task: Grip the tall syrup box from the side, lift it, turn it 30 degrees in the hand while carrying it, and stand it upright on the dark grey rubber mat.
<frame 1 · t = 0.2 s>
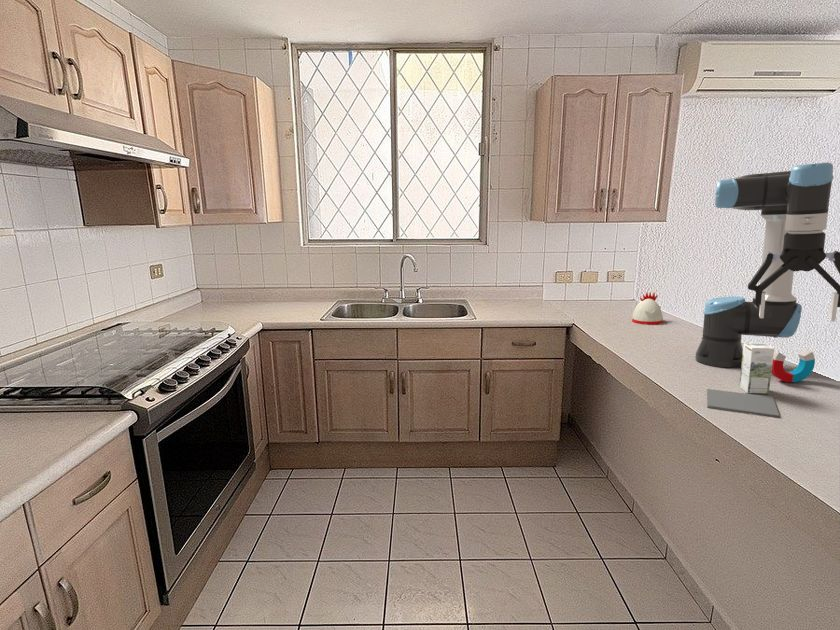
hand: (795, 318, 113), 27 cm above the worktop, tool pointing down, fingers open, 13 cm apart
magnet: (789, 382, 143), on the worktop
rubber mat: (740, 403, 130), on the worktop
cream beanie hat: (647, 322, 228), on the worktop
syrup box: (753, 391, 137), on the worktop
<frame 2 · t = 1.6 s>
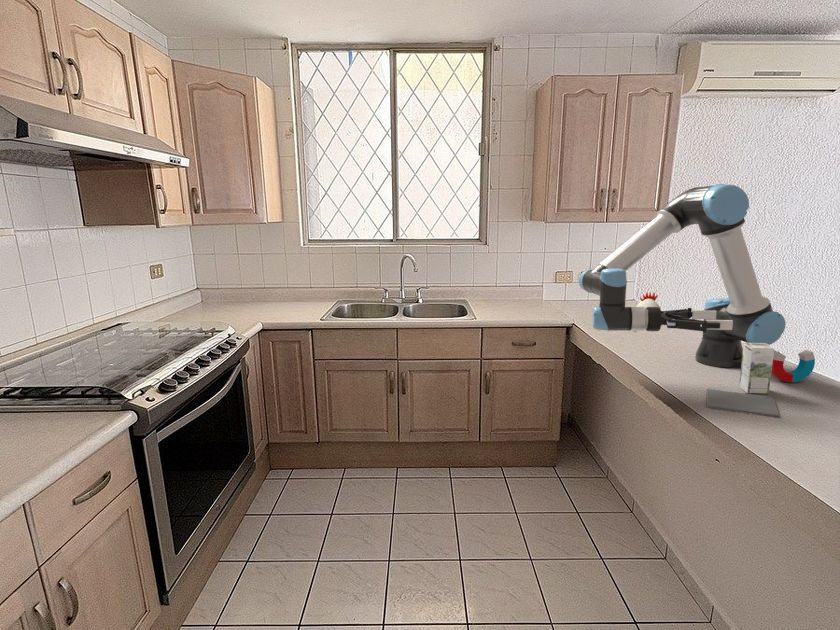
hand: (723, 319, 136), 22 cm above the worktop, tool horizontal, fingers open, 13 cm apart
nothing on the worktop moved.
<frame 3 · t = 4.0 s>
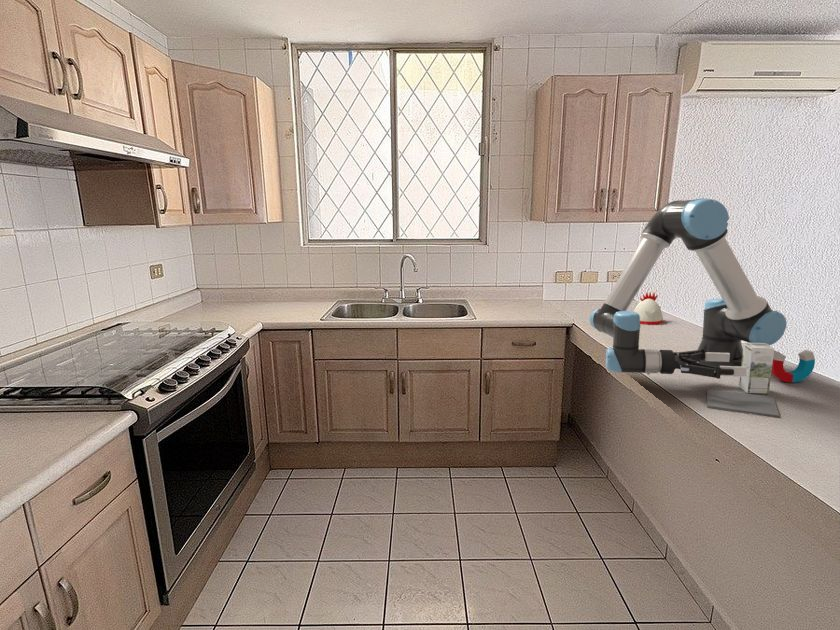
hand: (737, 364, 137), 8 cm above the worktop, tool horizontal, fingers open, 13 cm apart
nothing on the worktop moved.
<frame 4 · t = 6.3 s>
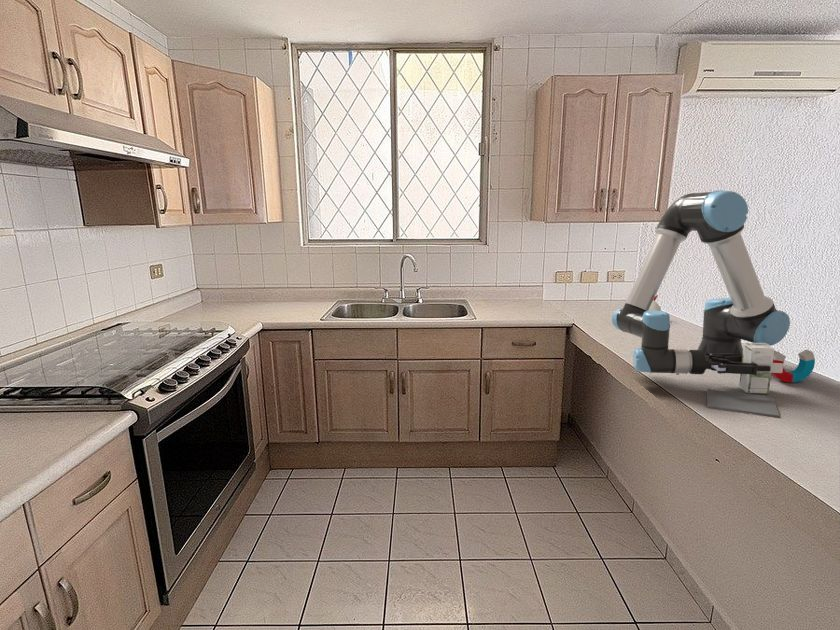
hand: (776, 364, 134), 9 cm above the worktop, tool horizontal, fingers closed on syrup box, 6 cm apart
syrup box: (753, 391, 137), on the worktop, touching gripper
everything else where it was.
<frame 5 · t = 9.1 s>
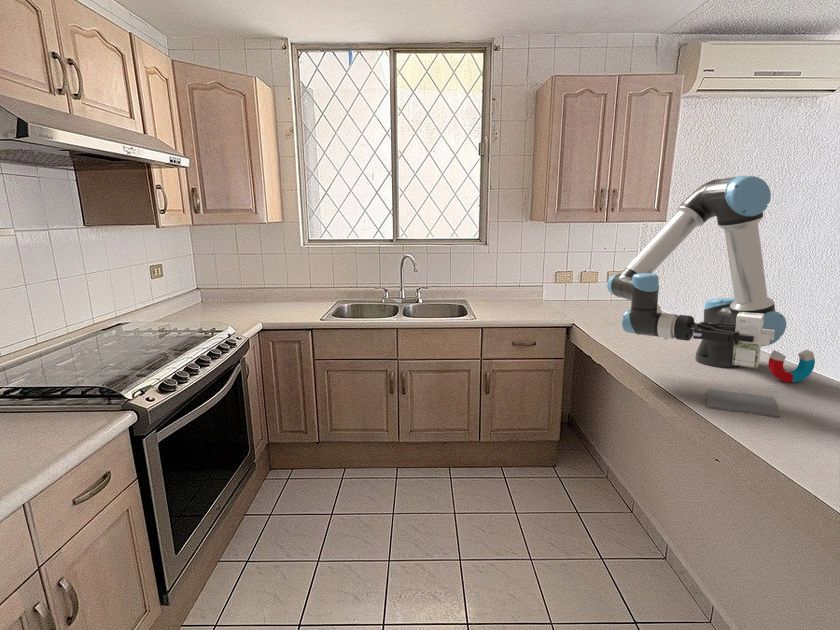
hand: (771, 337, 122), 20 cm above the worktop, tool horizontal, fingers closed on syrup box, 6 cm apart
syrup box: (745, 365, 127), point 11 cm above the worktop, touching gripper
everything else where it was.
when the fingers open (10 cm above the worktop, at t = 11.9 s): syrup box stays where it is, resting on rubber mat.
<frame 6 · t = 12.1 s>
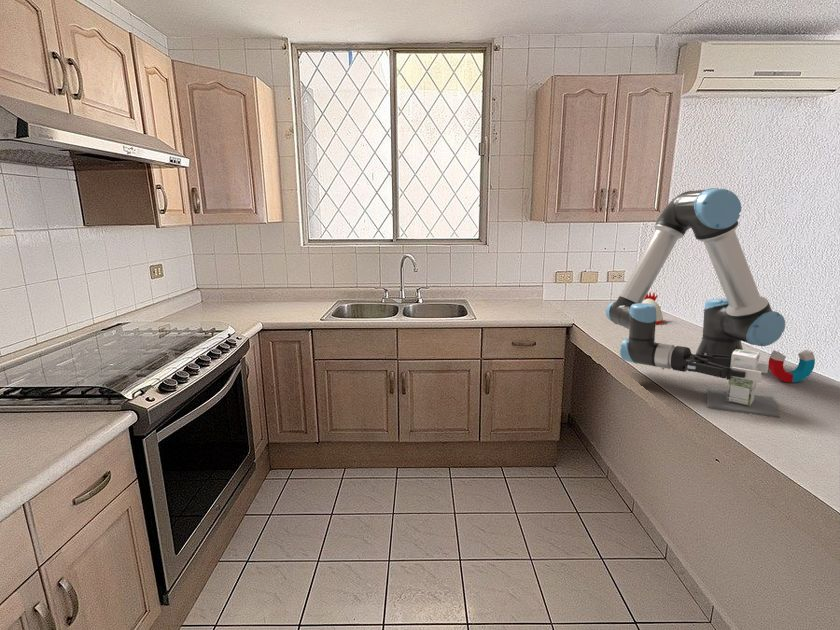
hand: (764, 372, 124), 10 cm above the worktop, tool horizontal, fingers open, 8 cm apart
syrup box: (739, 401, 129), resting on rubber mat
everything else where it was.
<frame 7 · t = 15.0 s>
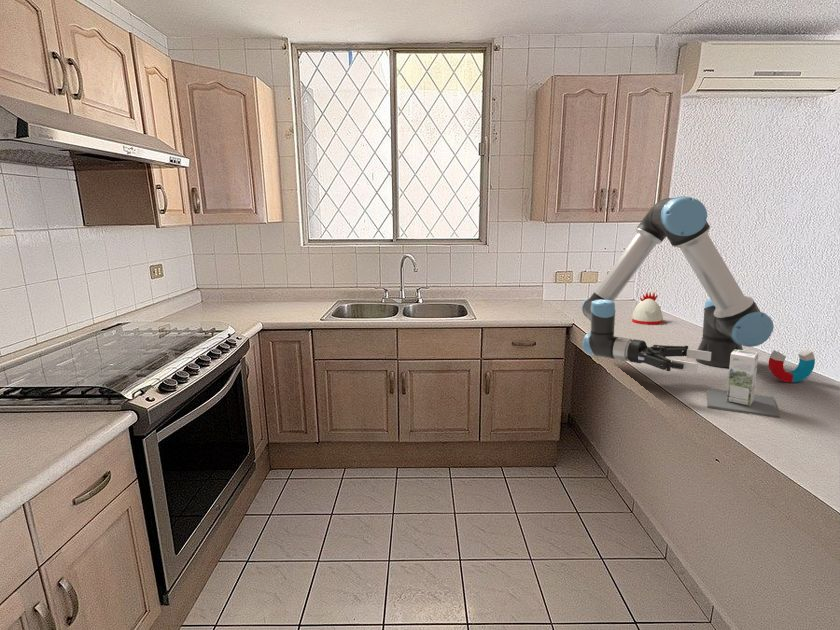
hand: (704, 362, 134), 10 cm above the worktop, tool horizontal, fingers open, 13 cm apart
nothing on the worktop moved.
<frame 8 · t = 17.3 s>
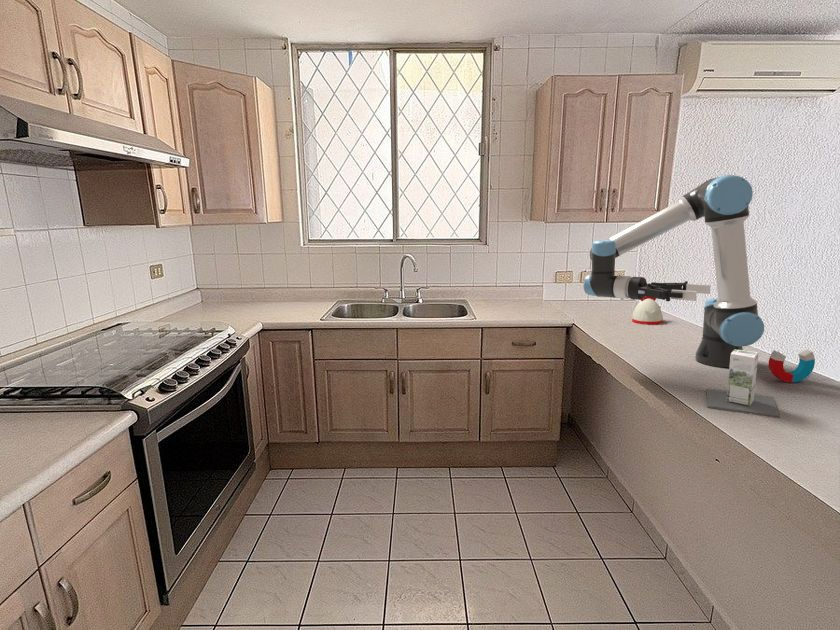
hand: (703, 292, 137), 30 cm above the worktop, tool horizontal, fingers open, 13 cm apart
nothing on the worktop moved.
at the end: syrup box inside the target area on the rubber mat (0.2 cm from its centre), point 0.4 cm above the rubber mat's base; syrup box tilted 0°; the gripper is holding nothing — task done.
